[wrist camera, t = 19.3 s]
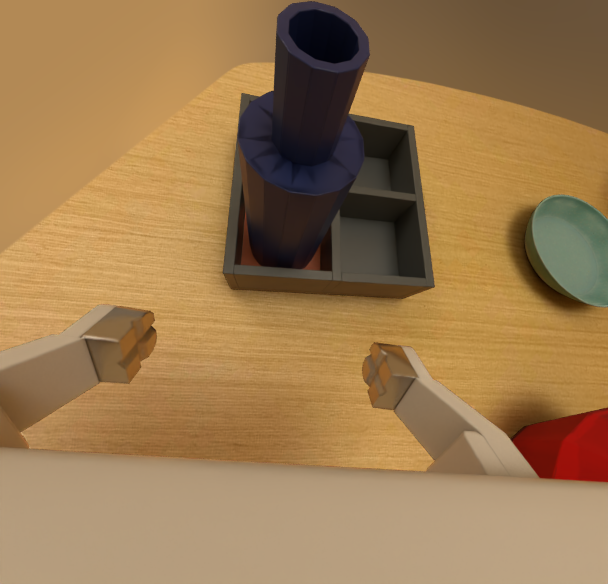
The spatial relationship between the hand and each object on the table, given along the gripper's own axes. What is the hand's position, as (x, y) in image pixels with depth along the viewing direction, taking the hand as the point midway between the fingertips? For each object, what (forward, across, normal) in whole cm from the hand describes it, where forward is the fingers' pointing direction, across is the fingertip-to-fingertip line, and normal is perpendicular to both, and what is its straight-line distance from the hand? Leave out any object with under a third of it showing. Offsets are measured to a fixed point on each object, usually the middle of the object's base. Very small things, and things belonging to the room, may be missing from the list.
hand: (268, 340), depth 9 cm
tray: (+20, -4, -1) cm, 20 cm away
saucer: (+21, -36, -2) cm, 42 cm away
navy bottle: (+16, 0, +2) cm, 16 cm away
